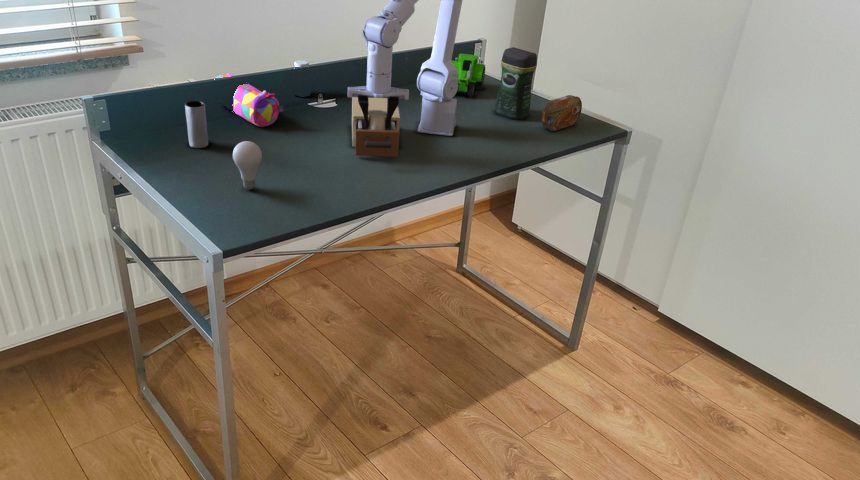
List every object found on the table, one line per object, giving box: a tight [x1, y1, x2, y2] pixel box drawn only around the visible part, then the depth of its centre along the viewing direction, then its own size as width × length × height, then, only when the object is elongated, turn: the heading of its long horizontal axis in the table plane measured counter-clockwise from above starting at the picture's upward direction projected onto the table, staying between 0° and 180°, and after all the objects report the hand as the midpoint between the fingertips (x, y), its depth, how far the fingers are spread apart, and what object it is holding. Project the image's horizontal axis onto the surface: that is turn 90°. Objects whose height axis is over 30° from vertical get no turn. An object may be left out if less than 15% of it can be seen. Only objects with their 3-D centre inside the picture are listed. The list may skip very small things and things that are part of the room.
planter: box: [184, 100, 209, 149], centre depth 175 cm, size 4×4×10 cm
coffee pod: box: [368, 110, 387, 130], centre depth 177 cm, size 5×5×5 cm
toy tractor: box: [451, 53, 486, 98], centre depth 223 cm, size 11×16×10 cm
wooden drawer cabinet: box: [351, 97, 401, 148], centre depth 188 cm, size 14×12×8 cm
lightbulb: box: [232, 140, 263, 191], centre depth 157 cm, size 6×6×11 cm
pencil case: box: [215, 73, 285, 128], centre depth 193 cm, size 22×9×9 cm, turn 47°
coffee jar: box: [494, 46, 538, 120], centre depth 206 cm, size 10×8×19 cm
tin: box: [540, 94, 583, 132], centre depth 203 cm, size 15×3×8 cm, turn 131°
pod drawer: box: [354, 119, 400, 158], centre depth 179 cm, size 17×10×6 cm, turn 6°
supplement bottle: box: [293, 59, 310, 68], centre depth 209 cm, size 5×5×10 cm
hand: (376, 126), depth 178 cm, fingers closed on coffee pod, 4 cm apart
